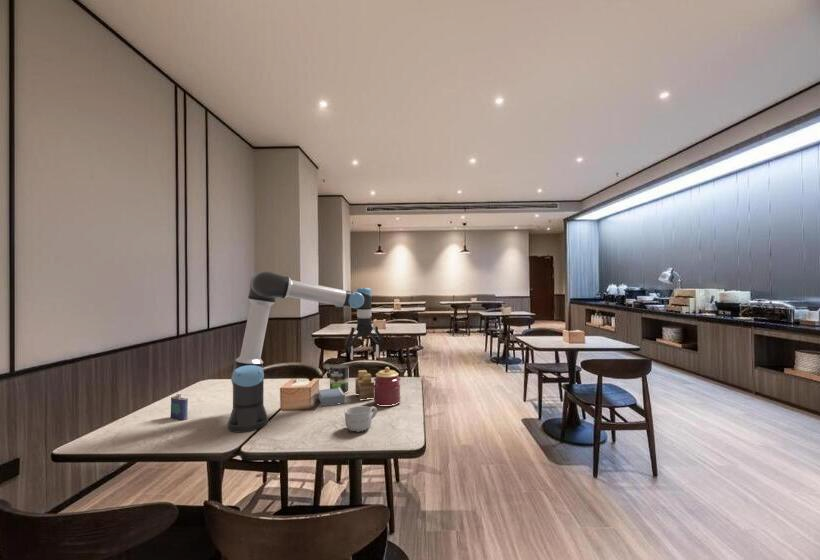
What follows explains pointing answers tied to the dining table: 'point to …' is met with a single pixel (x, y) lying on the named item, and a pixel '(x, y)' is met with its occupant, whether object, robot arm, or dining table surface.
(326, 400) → the dock
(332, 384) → the coffee can
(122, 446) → the dining table surface
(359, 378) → the crate
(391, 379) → the canister
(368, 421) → the teacup
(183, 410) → the flask
